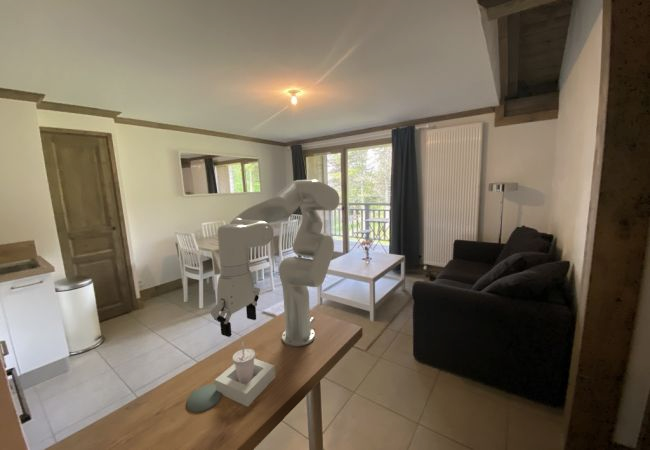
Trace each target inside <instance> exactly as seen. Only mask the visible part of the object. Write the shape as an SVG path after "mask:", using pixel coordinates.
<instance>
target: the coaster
mask: <svg viewBox="0 0 650 450" xmlns="http://www.w3.org/2000/svg"><path fill="white" fill-rule="evenodd" d="M222 396H223V395H222V393H221V392H219V391H217V390H216V387H215V383H214V384H213V383H212V384H211V383H210V384H206V385H202V386H200V387H198V388H197V389H195V390H193V392H192V393H191V394H189V396H188V397H187V400H186V406H187V409H188V411H191V412H193V413H201V412H206V411H208V410H210V409H211V408H213V407H215V406H216V404H218V403H219V402H220V400H221V399H222Z"/></svg>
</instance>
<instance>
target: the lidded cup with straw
mask: <svg viewBox="0 0 650 450" xmlns="http://www.w3.org/2000/svg"><path fill="white" fill-rule="evenodd" d="M254 359H256V351H255V350H254V349H252V348H245V345H244V341H242V342H241V349H240V350H237V351H236V352H235V353H234V354H233V355H232V363H233V364H235V368H236V372H237V376H238V380H237V381H238V382H240V383H242V384H244V385H247V384H248V383H249V382H250V381H251V380H252V379H253V378H254V375H253V372H254Z"/></svg>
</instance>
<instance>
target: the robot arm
mask: <svg viewBox="0 0 650 450" xmlns="http://www.w3.org/2000/svg"><path fill="white" fill-rule="evenodd" d="M339 205H340V195H339V193H338V191H337V190H336V188H334V187H332V186H330V185H328V184H327V183H325V182H323V181H321V180H318V179H296V180H293V181H291V182H289V183H288V184H287V185H286V186H285V187H283V188H282V189H281V190H280V191H278V192H277V193H276V194H275V195H273V197H271V198H269V199H266V200H264V201H261V202H260V203H257V204H255V205H253V206H250V207H248V208H247V209H245V210H243V211H242V212H241V213H239V214H238V215H237V216H235V217H234V218H233V219H232V220H231V221H230V223H229V224H222V225H221V226H219V227H217V228H218V229H217V243H218V253H219V264H220V265H219V266H220V267H219V268H220V276H219V277H218V280H217V289H216V290H217V292H216V297H217V298H216V299H217V300H216V301H217V303H216V305H215V306H214V307H213V309H212V310H211V311H210V315H211V316H212V318H213V319H214V320H215V321H216V322H218V323H219V326H220V334H221V335H222V336H224V337H228V338H230V337H232V334H233V333H232V324H231V322H230V319H231V316H232V315H233V314H235V313H238V311H241V310H242V309H244V308H246V309H245V310H246V311H245V312H246V318H247V320H252V321H256V320H257V309H256V308H257V305H258V300H259V298H260V297H259V296H260V292H261V289H260V288H258V287H255V286H254V284H255V283H254V279H253V276H252V274H253V273H252V272H251V270H250V264H251V261H250V257H249V249H251V248H258V247H259V248H260V247H264V246H267V245H268V244H270V243H271V241H272V240H273V238H274V228H273V227H272V225H271V223H277V222H281V221H283V220H286V219H288V218H290V217H291V216H292V215H293V214H294V213H295V212H296V211H297V210H298V209H299V208H300V212H301V224H300V226H299V229H298V230H297V233H296V236H295V238H294V240H293V244H292V252H293V253H294V254H295V255H297V256H300V257H297V256H289V257H286V258H284V259H283V260H281V262H280V264H279V267H278V273H279V275H278V276H279V279H280V282H281V287H282V294H283V309H284V310H283V311H284V324H285V325H284V327H285V328H284V329H285V330H284V331H283V332H282V333H281V334H282V335H281V340H282V342H283V343H284V344H285V345H287V346H290V347H303V346H306V345H308V344H310V343H311V342H312V341H314V339H315V338H316V336H315V334H316V333H315V330H314V329H313V328H312V325H313V323H314V322H315V321H316V319H315V317H314V316H312V317H311V311H310V293H309V289H308V287H310V288H319V287H320V286H322V285H323V283H324V281H325V278H326V275H327V274H328V270H329V267H330V265H331V260H332V257H333V255H334V250H335V244H334V239H333V237H332V236H331V235H329V234H328V233H322V229H323V221H322V218H321V217H320V215H319V213H318V211H328V212H329V211H335V210H336V209H337V208H338V207H339ZM304 257H305V258H304Z"/></svg>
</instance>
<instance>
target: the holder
mask: <svg viewBox="0 0 650 450" xmlns="http://www.w3.org/2000/svg"><path fill="white" fill-rule="evenodd" d="M275 368H276V367H275V365H274V364H271V363H269V362H266V361H262V360H259V359H257V358H255V359H254V372H253V379H252V380H251V381H250V382H249V383H248V384H247V385H244V384H242V383H240V382H239V380H238V376H237V372H236V368H235V364H234V363H233V364H231V366H229V367H228V368H227V369H226V370H225V371H223V372H222V373H221V374H220V375H219V376H217V377H216V378H215V379H214V385H215V387H216V390H217V391H219V392H221V393H222V396H223V397H226V398H228V399H230V400H232V401H234V402H237V403H239V404H241V405H243V406H245V407H247V408H248V407H249V406H250V405H251V404H252V403H253V402H254V401H255V400H256V398H258V396H259V395H260V394H261V393H262V392H263V391H264V390H265V389H266V388H267V387H268V385H270V383H271V382H272V381H273V380H274V379H275V378H276V369H275Z"/></svg>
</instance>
